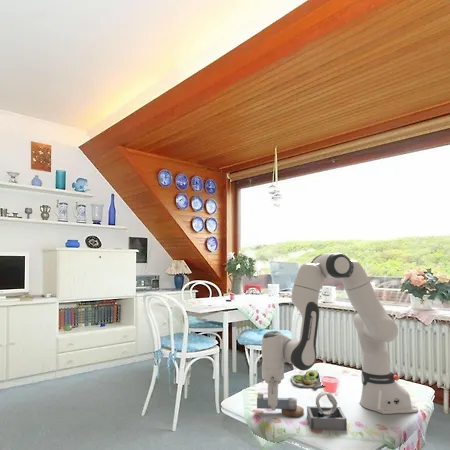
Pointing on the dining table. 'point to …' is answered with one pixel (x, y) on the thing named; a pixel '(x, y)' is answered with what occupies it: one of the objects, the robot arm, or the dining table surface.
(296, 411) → the base
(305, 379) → the avocado toast plate
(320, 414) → the watch
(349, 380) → the dining table surface
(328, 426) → the tray
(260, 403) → the crank arm
